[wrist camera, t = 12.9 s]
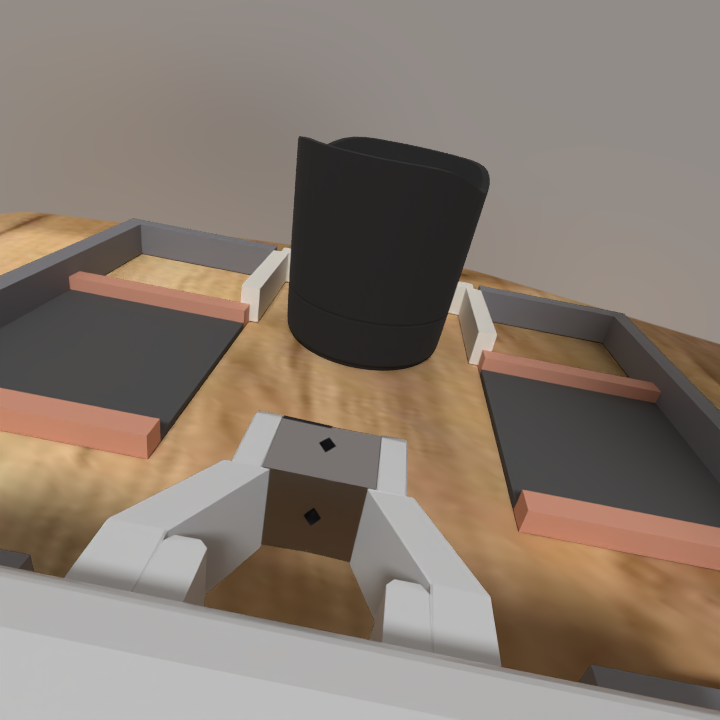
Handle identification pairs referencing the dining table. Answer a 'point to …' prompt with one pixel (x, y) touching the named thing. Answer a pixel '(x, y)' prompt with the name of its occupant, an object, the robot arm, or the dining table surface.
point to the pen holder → (378, 247)
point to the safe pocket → (464, 304)
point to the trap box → (497, 371)
